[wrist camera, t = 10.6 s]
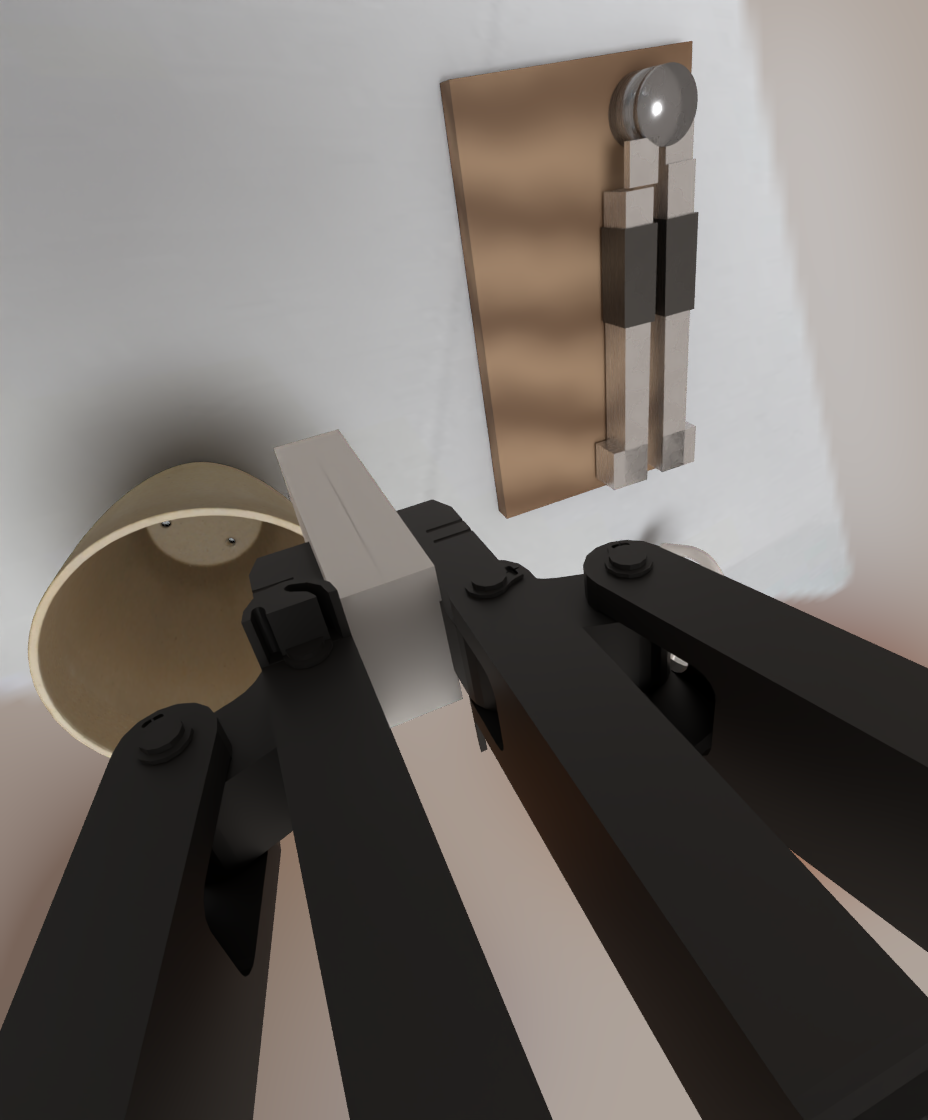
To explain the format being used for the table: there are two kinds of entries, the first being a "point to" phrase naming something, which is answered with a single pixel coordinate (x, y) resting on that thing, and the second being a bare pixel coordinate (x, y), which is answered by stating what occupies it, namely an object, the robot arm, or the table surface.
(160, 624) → the plant pot
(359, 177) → the table surface
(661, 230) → the grey white bar
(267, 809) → the robot arm
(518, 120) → the walnut board
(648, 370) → the arm
